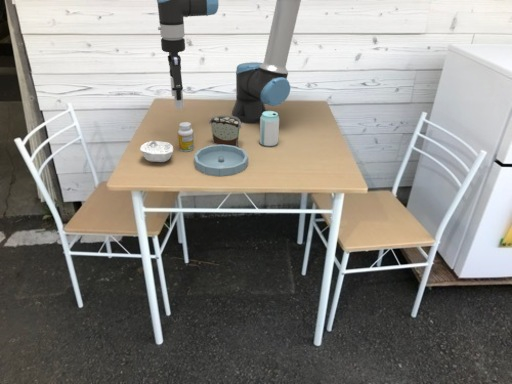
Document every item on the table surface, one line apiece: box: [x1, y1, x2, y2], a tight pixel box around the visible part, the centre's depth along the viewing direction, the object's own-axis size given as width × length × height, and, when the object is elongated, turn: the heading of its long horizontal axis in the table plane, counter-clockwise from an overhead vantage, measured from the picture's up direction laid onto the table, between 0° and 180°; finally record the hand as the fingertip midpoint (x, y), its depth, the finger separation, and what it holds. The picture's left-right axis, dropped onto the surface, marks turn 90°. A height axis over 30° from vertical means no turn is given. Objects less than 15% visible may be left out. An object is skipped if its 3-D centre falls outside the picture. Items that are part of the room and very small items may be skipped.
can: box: [259, 110, 280, 147], centre depth 153 cm, size 7×7×12 cm
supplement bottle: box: [177, 121, 195, 153], centre depth 147 cm, size 5×5×10 cm
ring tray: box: [193, 144, 249, 177], centre depth 140 cm, size 18×18×3 cm
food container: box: [209, 114, 242, 147], centre depth 153 cm, size 12×6×10 cm, turn 71°
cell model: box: [139, 140, 174, 163], centre depth 140 cm, size 10×12×7 cm
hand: (177, 102), depth 141 cm, fingers open, 13 cm apart
